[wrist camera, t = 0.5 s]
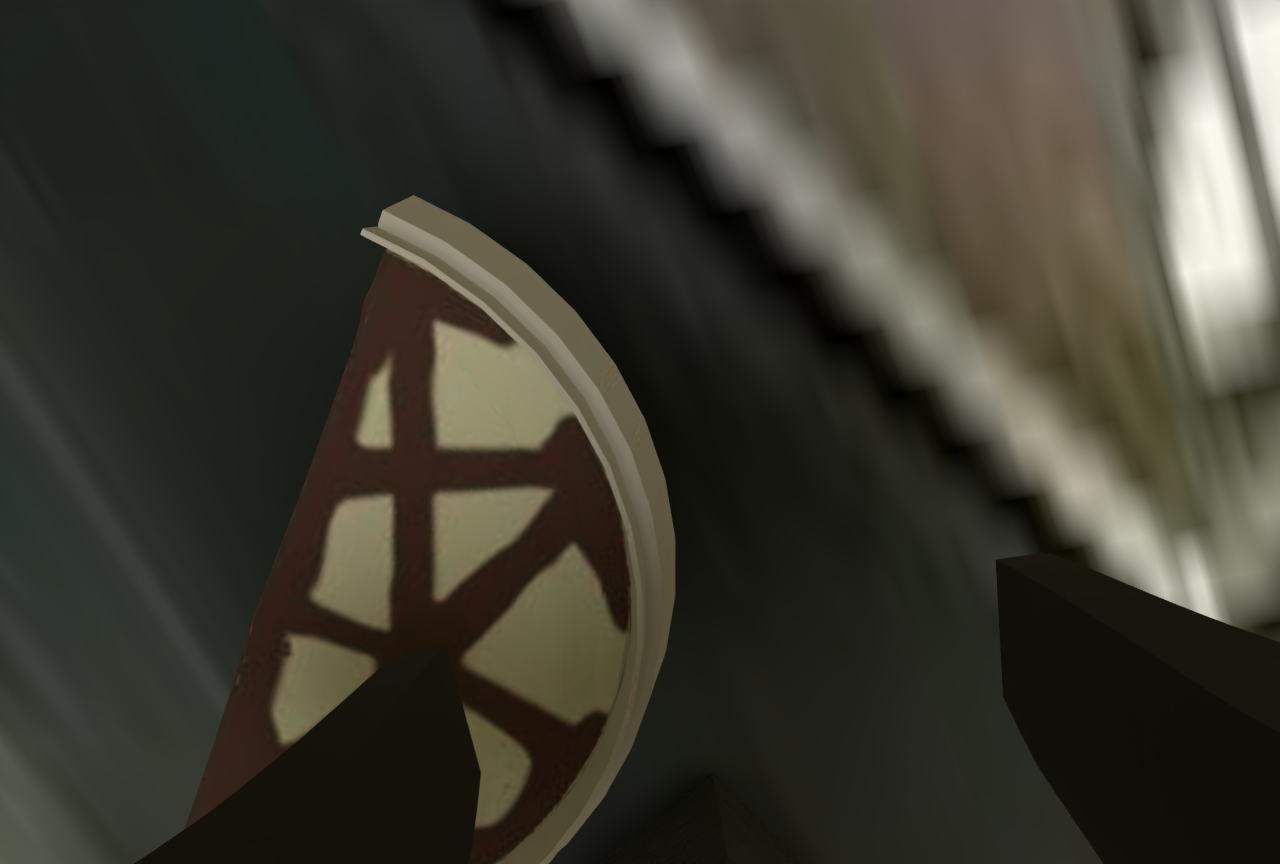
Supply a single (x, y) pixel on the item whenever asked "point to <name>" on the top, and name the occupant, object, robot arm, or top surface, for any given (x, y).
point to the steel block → (704, 833)
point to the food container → (470, 539)
